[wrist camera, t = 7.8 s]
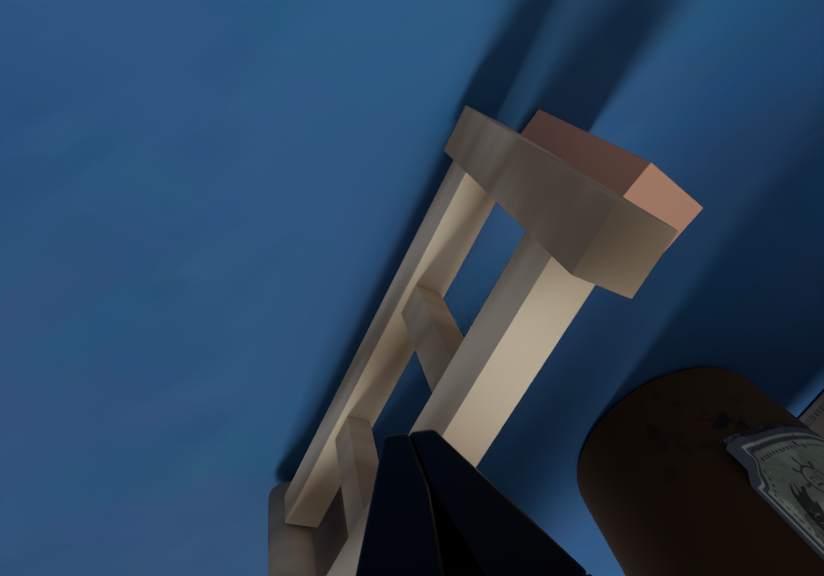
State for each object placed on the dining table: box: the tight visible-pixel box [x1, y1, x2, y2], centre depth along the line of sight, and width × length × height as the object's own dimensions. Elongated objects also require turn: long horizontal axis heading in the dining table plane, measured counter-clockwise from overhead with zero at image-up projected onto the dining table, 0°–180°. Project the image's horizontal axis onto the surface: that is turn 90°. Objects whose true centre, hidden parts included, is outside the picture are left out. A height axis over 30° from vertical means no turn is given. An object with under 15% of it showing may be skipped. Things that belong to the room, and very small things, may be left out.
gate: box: [268, 106, 678, 576], centre depth 16 cm, size 17×2×8 cm, turn 154°
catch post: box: [521, 109, 703, 252], centre depth 15 cm, size 2×2×6 cm
